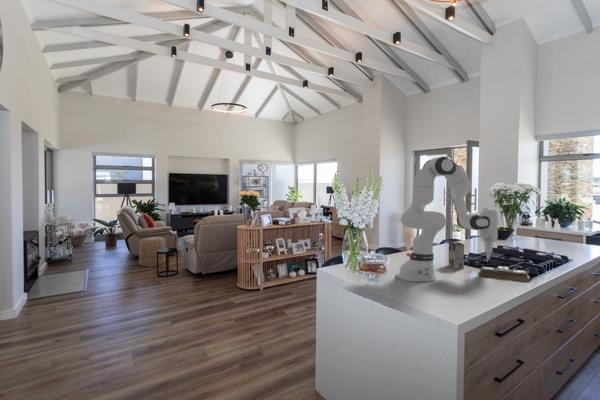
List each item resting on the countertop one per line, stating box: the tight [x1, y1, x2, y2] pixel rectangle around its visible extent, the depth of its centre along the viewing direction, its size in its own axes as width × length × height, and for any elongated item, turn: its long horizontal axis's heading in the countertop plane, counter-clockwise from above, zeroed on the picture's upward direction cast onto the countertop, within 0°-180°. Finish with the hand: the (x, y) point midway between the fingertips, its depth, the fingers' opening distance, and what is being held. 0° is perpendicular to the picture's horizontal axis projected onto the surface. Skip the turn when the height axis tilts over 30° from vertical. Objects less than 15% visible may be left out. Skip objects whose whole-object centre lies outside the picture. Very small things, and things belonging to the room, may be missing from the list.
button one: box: [497, 265, 509, 272], centre depth 178 cm, size 5×5×2 cm
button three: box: [482, 266, 494, 270], centre depth 182 cm, size 5×5×2 cm
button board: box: [479, 266, 531, 283], centre depth 178 cm, size 10×24×4 cm, turn 59°
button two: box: [512, 269, 525, 273], centre depth 174 cm, size 5×5×2 cm
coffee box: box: [448, 241, 465, 269], centre depth 202 cm, size 9×6×16 cm
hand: (488, 258), depth 181 cm, fingers closed
